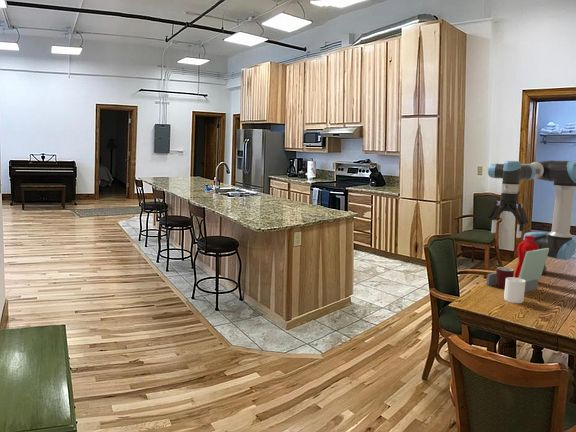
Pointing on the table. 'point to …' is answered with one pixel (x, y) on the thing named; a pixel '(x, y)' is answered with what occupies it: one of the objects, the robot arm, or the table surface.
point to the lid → (533, 264)
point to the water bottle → (524, 252)
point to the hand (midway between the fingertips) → (505, 235)
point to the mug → (503, 275)
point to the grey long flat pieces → (528, 285)
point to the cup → (514, 290)
